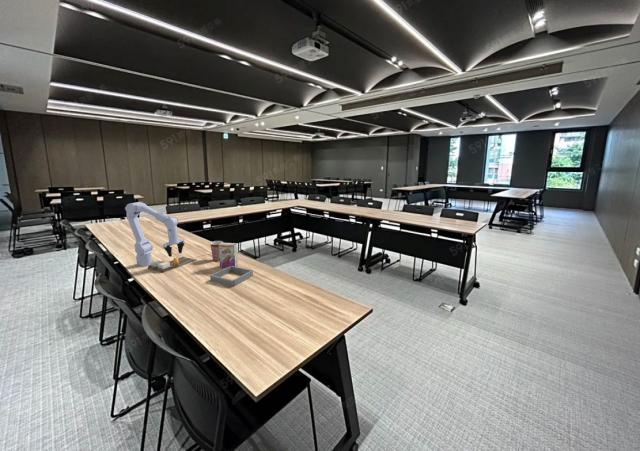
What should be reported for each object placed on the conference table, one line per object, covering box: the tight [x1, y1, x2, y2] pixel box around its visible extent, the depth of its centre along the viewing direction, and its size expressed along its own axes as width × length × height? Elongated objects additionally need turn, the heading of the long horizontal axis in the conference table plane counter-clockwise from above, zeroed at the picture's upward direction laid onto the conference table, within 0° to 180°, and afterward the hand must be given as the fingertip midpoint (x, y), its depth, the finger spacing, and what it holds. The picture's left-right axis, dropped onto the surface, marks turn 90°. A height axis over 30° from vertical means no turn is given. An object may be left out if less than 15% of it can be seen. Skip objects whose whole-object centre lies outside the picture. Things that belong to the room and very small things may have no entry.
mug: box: [209, 240, 224, 263], centre depth 199 cm, size 13×9×14 cm
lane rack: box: [147, 256, 197, 273], centre depth 188 cm, size 15×26×3 cm, turn 155°
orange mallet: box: [158, 257, 179, 269], centre depth 181 cm, size 5×13×5 cm, turn 155°
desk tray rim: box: [209, 266, 254, 288], centre depth 168 cm, size 18×18×4 cm
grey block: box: [151, 260, 163, 267], centre depth 181 cm, size 5×5×4 cm
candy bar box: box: [218, 242, 239, 268], centre depth 185 cm, size 11×5×16 cm, turn 84°
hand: (175, 254), depth 184 cm, fingers open, 7 cm apart
